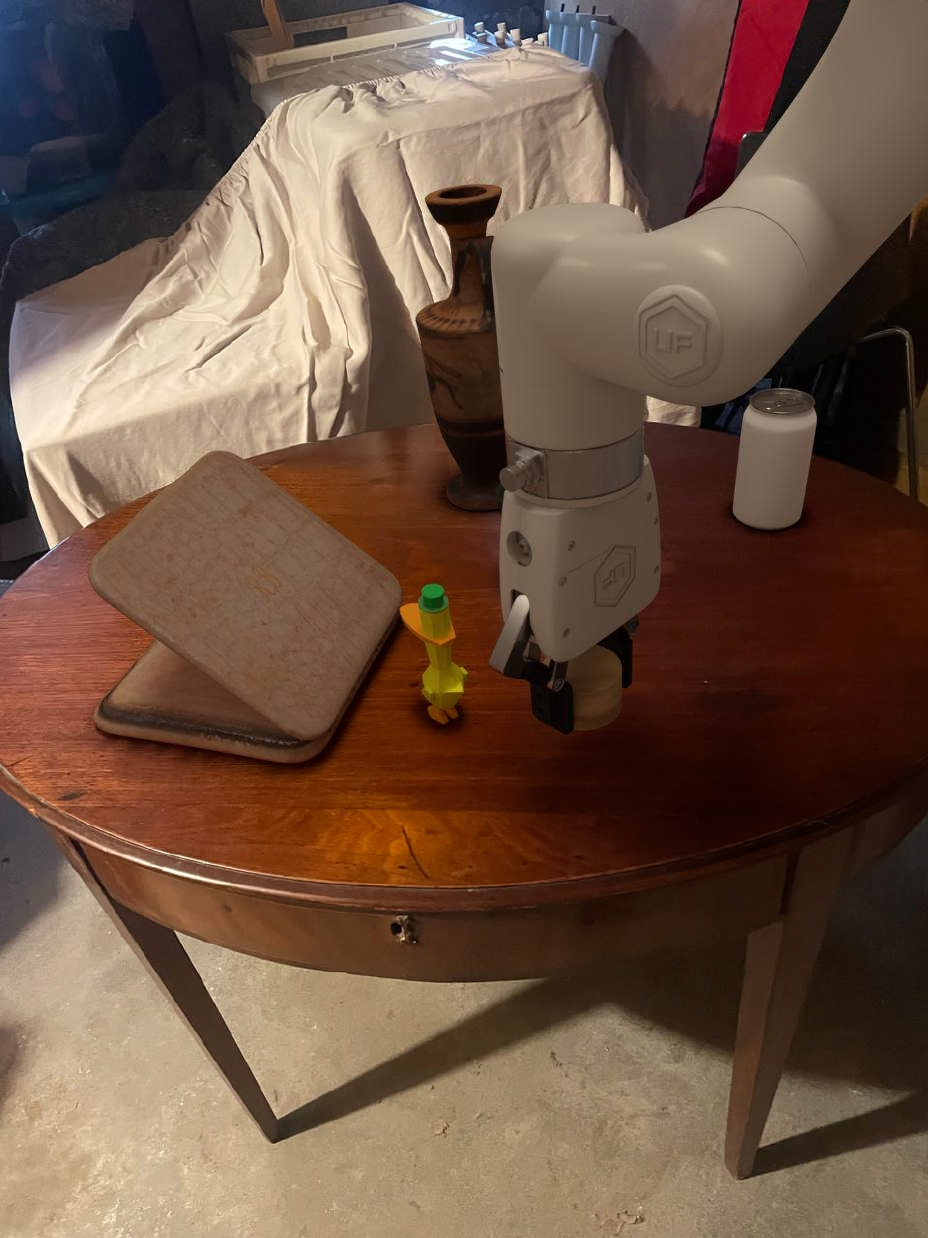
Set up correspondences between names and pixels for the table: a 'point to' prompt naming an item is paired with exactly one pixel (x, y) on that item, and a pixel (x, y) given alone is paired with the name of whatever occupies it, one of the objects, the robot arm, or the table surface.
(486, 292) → the vase
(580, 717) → the cylinder
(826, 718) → the table surface
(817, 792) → the table surface
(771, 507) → the can
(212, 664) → the case
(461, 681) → the toy figure
